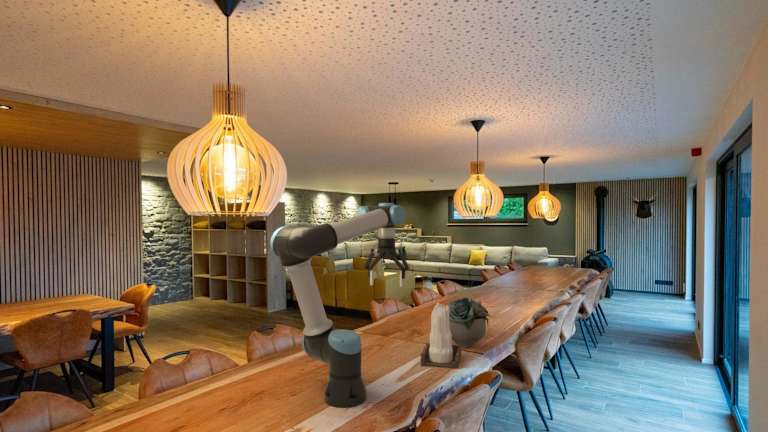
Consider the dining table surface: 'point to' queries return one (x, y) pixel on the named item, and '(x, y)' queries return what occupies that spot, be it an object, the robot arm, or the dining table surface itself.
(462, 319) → the flower arrangement
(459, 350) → the brown wooden tray
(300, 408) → the dining table surface
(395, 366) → the dining table surface
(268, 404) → the dining table surface
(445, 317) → the decorative vase
